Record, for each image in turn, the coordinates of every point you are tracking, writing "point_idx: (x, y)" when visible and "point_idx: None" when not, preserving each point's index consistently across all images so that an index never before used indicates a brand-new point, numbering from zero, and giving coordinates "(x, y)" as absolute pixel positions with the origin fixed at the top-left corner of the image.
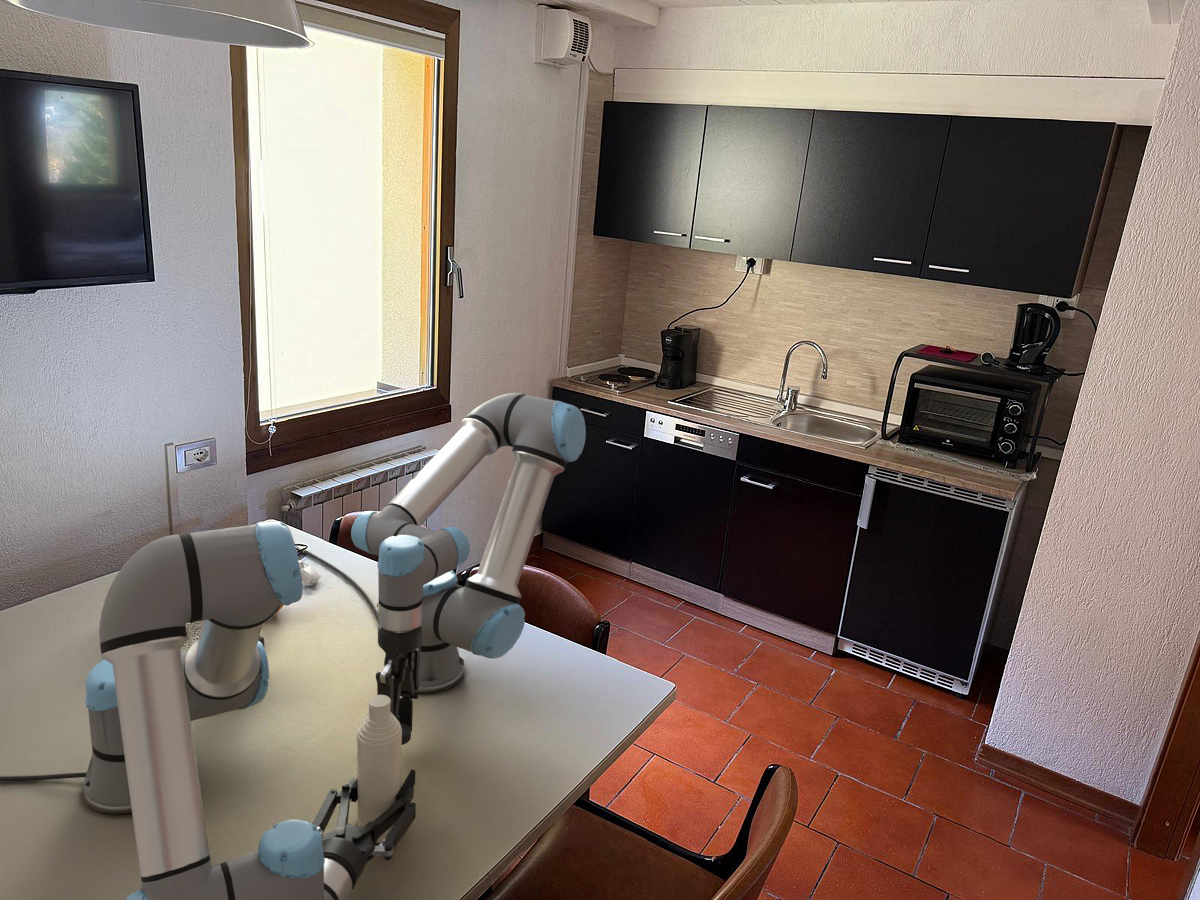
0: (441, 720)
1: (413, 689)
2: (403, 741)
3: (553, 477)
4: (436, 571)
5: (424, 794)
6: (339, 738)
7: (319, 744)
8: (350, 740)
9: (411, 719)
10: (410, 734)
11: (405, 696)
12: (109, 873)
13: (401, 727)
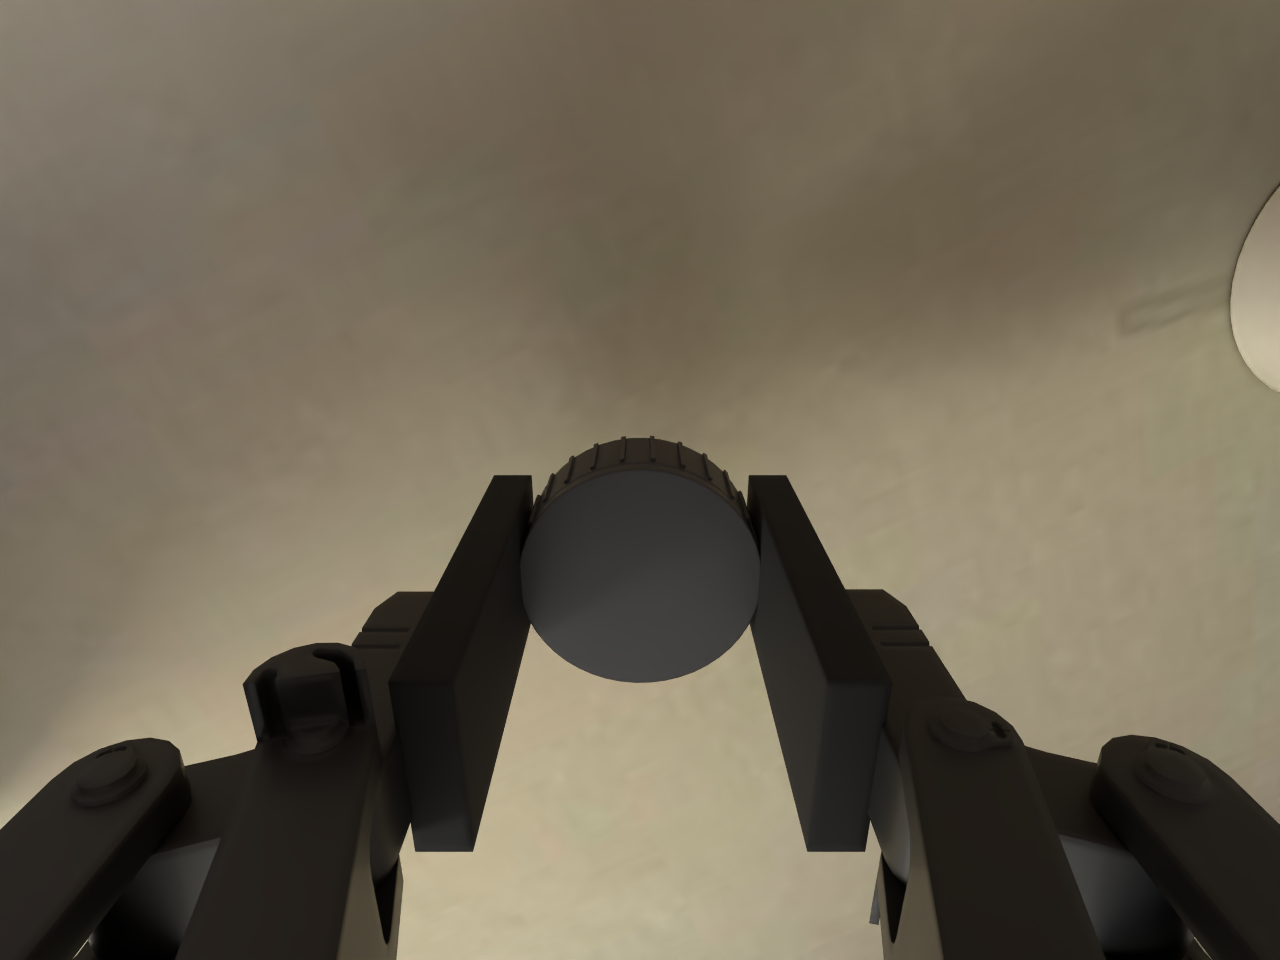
0: (108, 353)
1: (260, 829)
2: (714, 474)
3: None
4: None
5: (999, 87)
6: (598, 827)
7: (682, 881)
8: (593, 776)
9: (486, 536)
10: (625, 454)
11: (391, 811)
12: None
13: (593, 571)
